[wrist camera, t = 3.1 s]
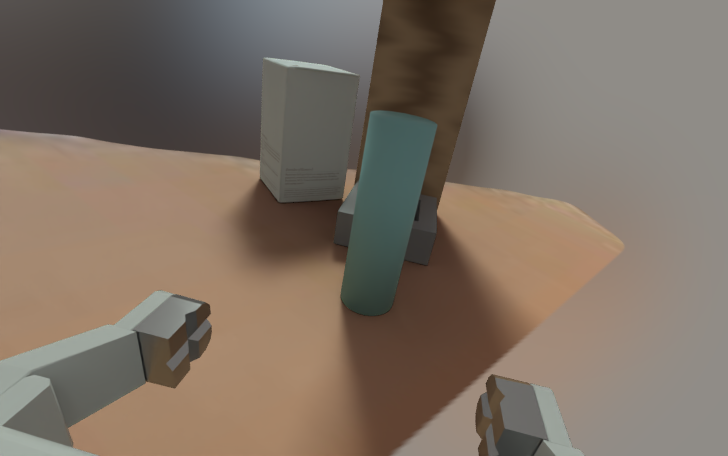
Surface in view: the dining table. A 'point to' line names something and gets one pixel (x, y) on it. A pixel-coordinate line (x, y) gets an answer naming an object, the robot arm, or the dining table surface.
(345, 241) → the socket
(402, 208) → the peg
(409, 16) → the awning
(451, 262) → the dining table surface
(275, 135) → the supplement box
